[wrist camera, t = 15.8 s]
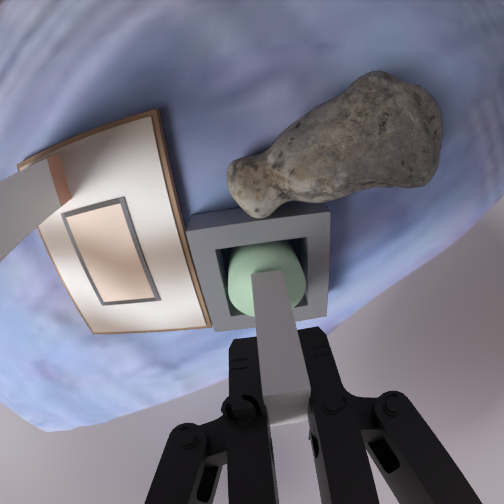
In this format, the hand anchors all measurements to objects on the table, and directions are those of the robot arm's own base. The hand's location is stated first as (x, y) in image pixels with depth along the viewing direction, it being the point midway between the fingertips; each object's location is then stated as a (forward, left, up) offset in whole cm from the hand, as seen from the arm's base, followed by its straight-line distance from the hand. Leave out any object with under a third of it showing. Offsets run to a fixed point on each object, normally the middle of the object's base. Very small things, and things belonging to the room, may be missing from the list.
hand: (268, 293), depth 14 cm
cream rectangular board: (-3, -9, -3) cm, 10 cm away
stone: (-6, +4, -3) cm, 8 cm away
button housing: (0, 0, -3) cm, 3 cm away
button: (0, 0, -4) cm, 4 cm away
